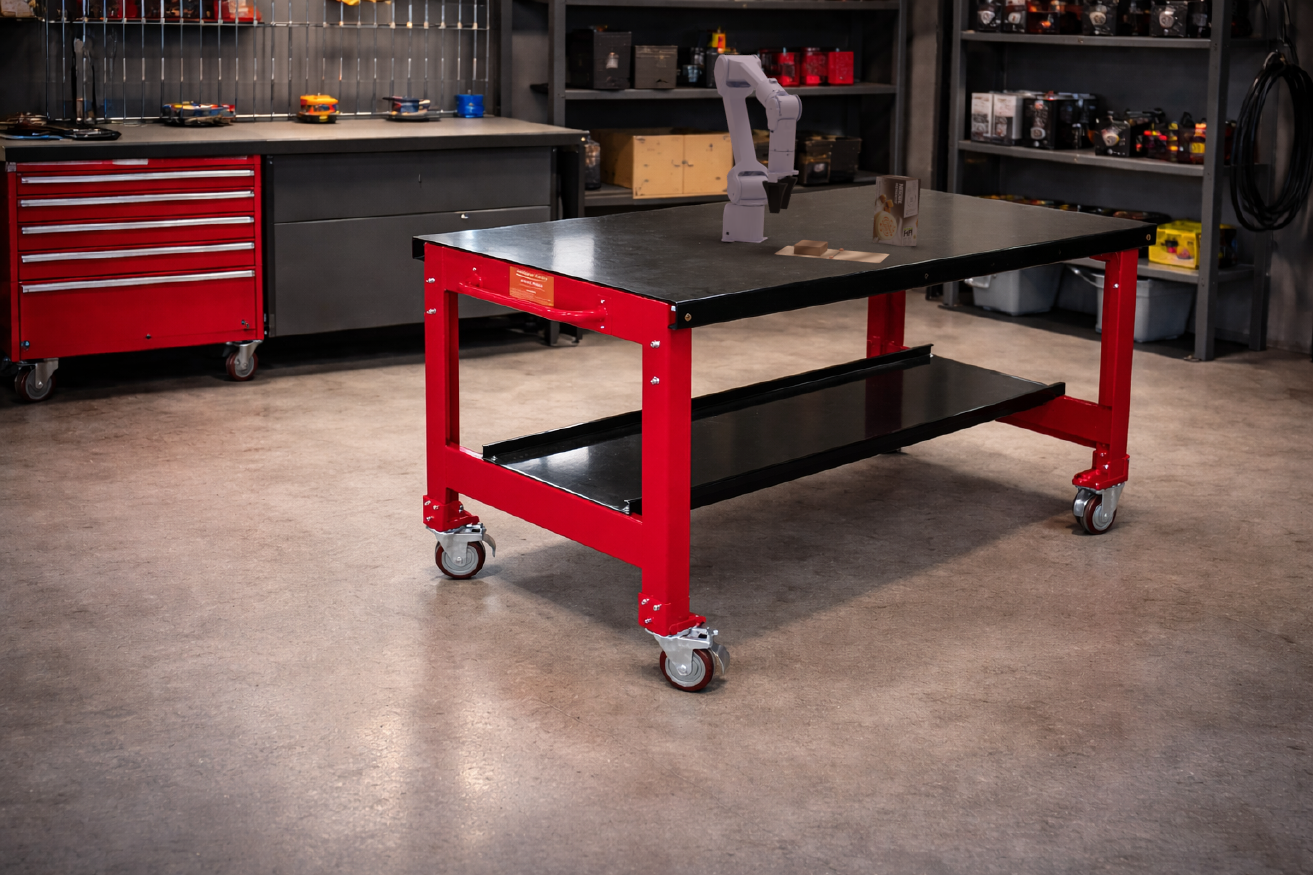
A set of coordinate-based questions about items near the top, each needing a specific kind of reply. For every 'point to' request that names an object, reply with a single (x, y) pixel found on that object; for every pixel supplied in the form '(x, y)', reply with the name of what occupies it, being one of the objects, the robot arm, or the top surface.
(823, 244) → the stub tile
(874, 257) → the pale wooden flat slab
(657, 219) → the top surface
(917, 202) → the coffee box
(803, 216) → the top surface
